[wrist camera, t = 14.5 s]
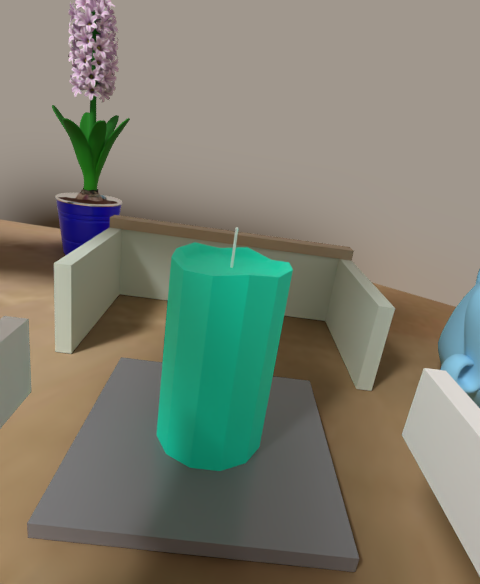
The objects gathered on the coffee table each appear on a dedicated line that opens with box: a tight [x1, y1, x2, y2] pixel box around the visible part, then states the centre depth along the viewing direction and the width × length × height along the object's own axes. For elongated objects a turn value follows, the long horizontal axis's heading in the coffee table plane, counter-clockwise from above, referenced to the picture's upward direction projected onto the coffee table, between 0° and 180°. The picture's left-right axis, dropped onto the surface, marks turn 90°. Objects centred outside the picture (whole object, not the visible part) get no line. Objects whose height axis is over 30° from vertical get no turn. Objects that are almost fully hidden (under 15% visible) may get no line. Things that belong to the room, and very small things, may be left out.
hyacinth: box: [52, 0, 130, 255], centre depth 51 cm, size 9×10×30 cm
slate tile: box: [27, 357, 359, 572], centre depth 24 cm, size 14×14×1 cm
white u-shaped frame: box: [54, 215, 395, 391], centre depth 37 cm, size 24×14×8 cm, turn 90°
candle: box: [156, 227, 293, 471], centre depth 22 cm, size 6×6×12 cm
